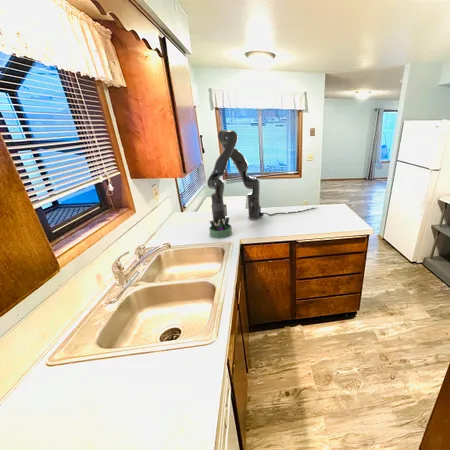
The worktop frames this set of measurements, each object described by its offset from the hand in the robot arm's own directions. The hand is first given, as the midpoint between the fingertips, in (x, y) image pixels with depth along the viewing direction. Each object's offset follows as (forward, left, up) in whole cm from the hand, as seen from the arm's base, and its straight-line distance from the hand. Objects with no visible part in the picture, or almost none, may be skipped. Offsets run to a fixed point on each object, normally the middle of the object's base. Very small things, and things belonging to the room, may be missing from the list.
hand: (221, 232), depth 163 cm
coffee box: (-10, -17, -1) cm, 20 cm away
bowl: (0, 0, -1) cm, 1 cm away
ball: (0, 0, +2) cm, 2 cm away
